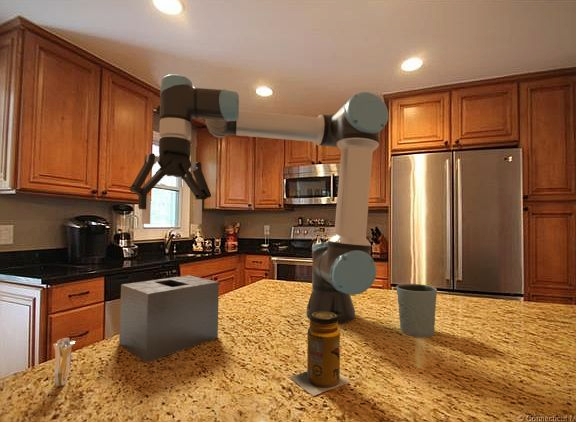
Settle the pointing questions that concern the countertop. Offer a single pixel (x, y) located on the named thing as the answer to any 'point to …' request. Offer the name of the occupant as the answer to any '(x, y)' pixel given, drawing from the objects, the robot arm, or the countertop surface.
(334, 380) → the condiment
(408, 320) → the grey cup
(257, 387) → the countertop surface
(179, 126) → the robot arm
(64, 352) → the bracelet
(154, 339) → the coin box
